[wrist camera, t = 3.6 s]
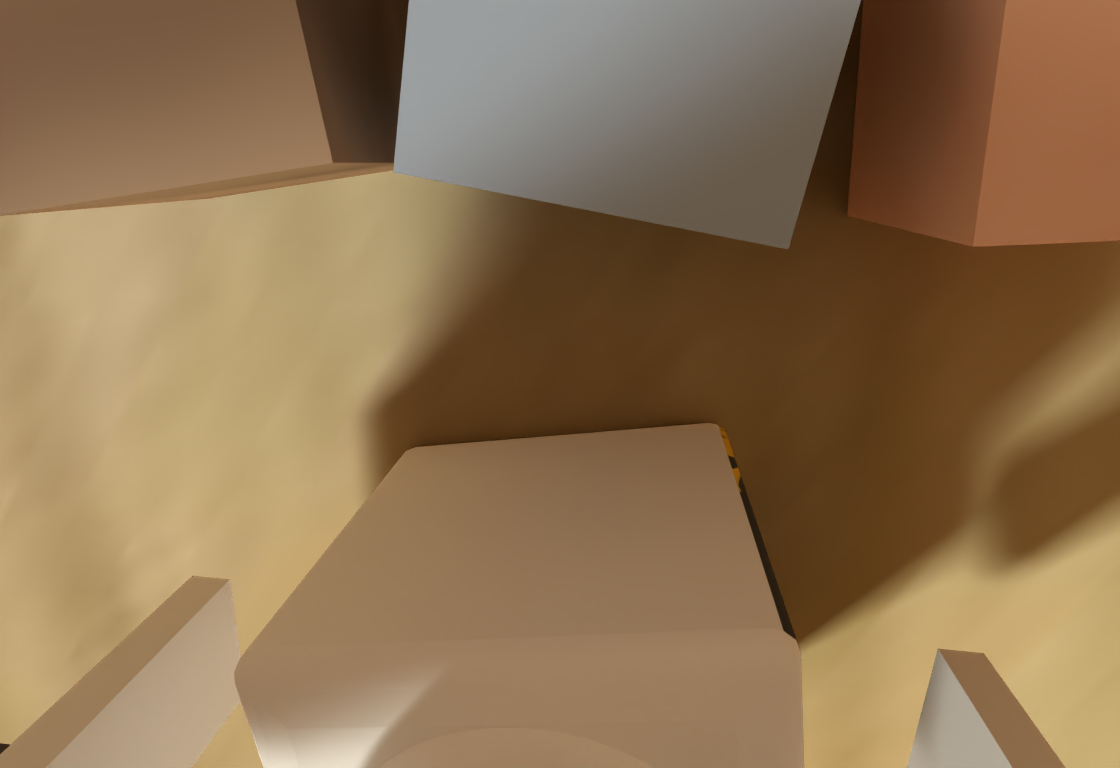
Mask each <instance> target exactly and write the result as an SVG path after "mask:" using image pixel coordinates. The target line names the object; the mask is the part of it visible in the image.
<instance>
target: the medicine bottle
mask: <svg viewBox="0 0 1120 768" xmlns="http://www.w3.org/2000/svg"><path fill="white" fill-rule="evenodd" d="M234 681H235V685H236V688H237V691H238V694H239V697H240V700H241V703H242V706H243V709H244V712H245V715H246V718H247V720H248V723H249V726H250V729H251V732H252V735H253V738H254V741H255V744H256V747H257V750H258V753H259V756H260V758H261V761H262V764H263V767H264V768H804V741H803V706H802V671H801V652H800V649H799V646H798V643H797V640H796V637H795V634H794V631H793V628H792V625H791V622H790V619H789V617H788V614H787V611H786V608H785V605H784V602H783V599H782V596H781V593H780V590H779V587H778V584H777V581H776V578H775V575H774V572H773V569H772V566H771V563H770V560H769V558H768V555H767V552H766V549H765V546H764V543H763V540H762V537H761V534H760V531H759V528H758V525H757V522H756V519H755V516H754V513H753V510H752V507H751V504H750V501H749V498H748V496H747V493H746V490H745V487H744V484H743V481H742V478H741V475H740V472H739V469H738V466H737V463H736V460H735V457H734V454H733V451H732V448H731V445H730V442H729V439H728V437H727V434H726V431H725V430H723V429H722V428H721V427H720V426H718V425H717V424H712V423H700V424H688V425H676V426H664V427H652V428H640V429H628V430H616V431H604V432H591V433H579V434H567V435H555V436H543V437H531V438H519V439H507V440H495V441H482V442H470V443H458V444H446V445H434V446H422V447H415V448H412V449H409V450H407V451H405V453H404V454H403V455H402V456H401V458H400V459H399V460H398V461H397V463H396V464H395V465H394V466H393V468H392V469H391V470H390V471H389V473H388V474H387V475H386V476H385V478H384V479H383V480H382V481H381V483H380V484H379V485H378V486H377V488H376V489H375V490H374V491H373V493H372V494H371V495H370V496H369V498H368V499H367V500H366V501H365V503H364V504H363V505H362V506H361V508H360V509H359V510H358V511H357V513H356V514H355V515H354V516H353V518H352V519H351V520H350V521H349V523H348V524H347V525H346V526H345V528H344V529H343V530H342V531H341V533H340V534H339V535H338V536H337V538H336V539H335V540H334V541H333V543H332V544H331V545H330V546H329V548H328V549H327V550H326V551H325V553H324V554H323V555H322V556H321V558H320V559H319V560H318V561H317V563H316V564H315V565H314V566H313V568H312V569H311V570H310V571H309V573H308V574H307V575H306V576H305V578H304V579H303V580H302V581H301V583H300V584H299V585H298V586H297V588H296V589H295V590H294V591H293V593H292V594H291V595H290V596H289V598H288V599H287V600H286V601H285V603H284V604H283V605H282V606H281V608H280V609H279V610H278V611H277V613H276V614H275V615H274V616H273V618H272V619H271V620H270V621H269V623H268V624H267V625H266V626H265V628H264V629H263V630H262V631H261V633H260V634H259V635H258V636H257V638H256V639H255V640H254V641H253V643H252V644H251V645H250V646H249V648H248V649H247V650H246V651H245V653H244V654H243V655H242V657H241V658H240V659H239V661H238V664H237V666H236V669H235V671H234Z"/></svg>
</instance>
